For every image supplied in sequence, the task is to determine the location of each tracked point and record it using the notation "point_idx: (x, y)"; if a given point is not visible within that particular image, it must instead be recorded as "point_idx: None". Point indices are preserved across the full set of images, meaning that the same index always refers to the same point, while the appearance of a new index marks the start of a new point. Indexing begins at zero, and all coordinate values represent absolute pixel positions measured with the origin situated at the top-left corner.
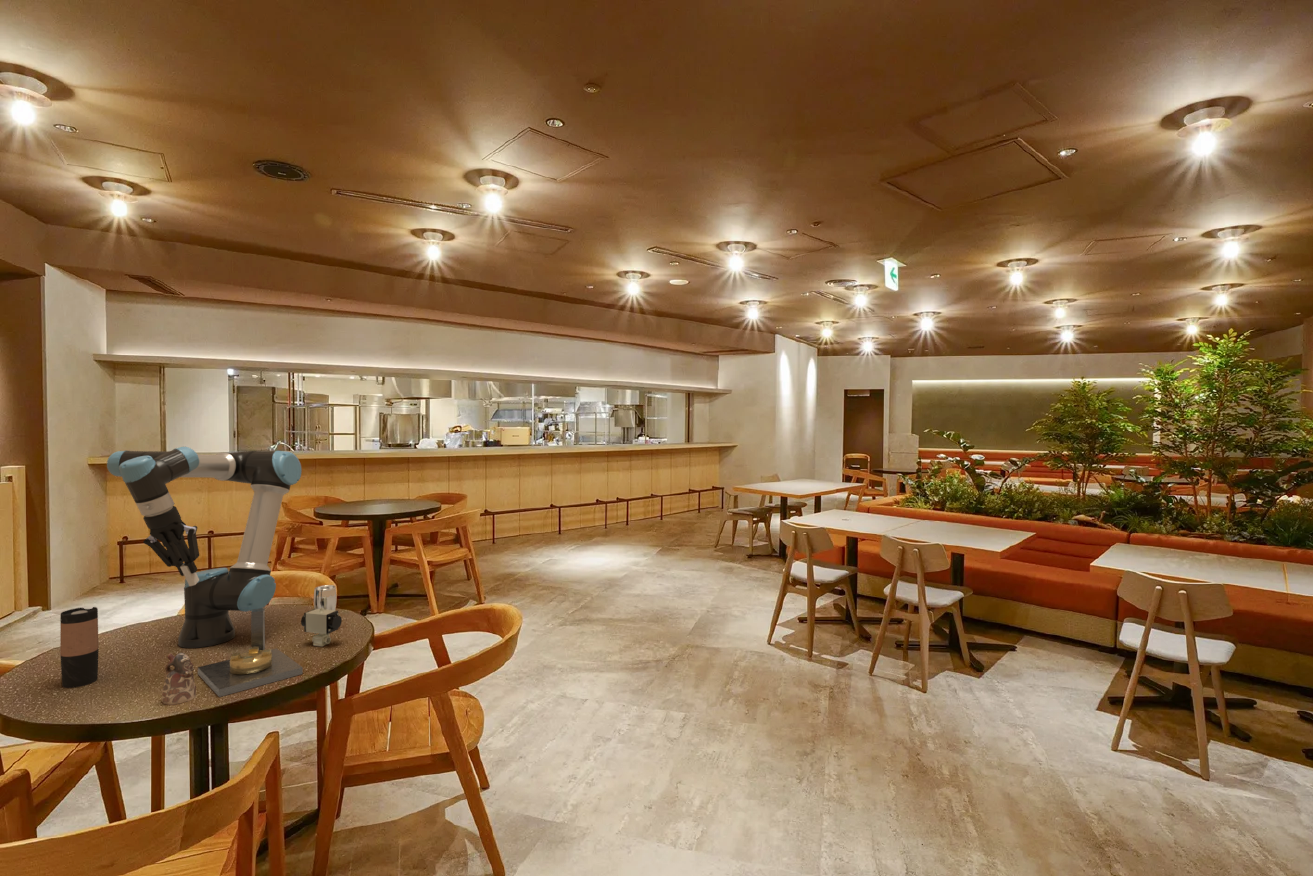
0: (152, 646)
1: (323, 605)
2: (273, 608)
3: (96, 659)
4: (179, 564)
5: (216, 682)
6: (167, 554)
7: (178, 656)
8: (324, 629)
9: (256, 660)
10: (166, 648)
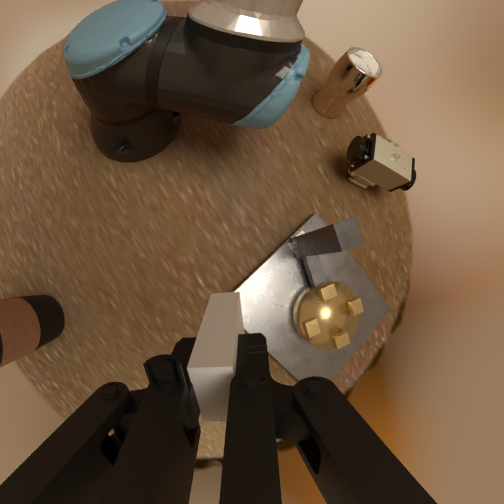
0: (59, 150)
1: (357, 94)
2: (182, 7)
3: (47, 320)
4: (200, 431)
5: (297, 372)
6: (94, 471)
7: (279, 440)
8: (389, 186)
9: (349, 334)
10: (84, 159)
